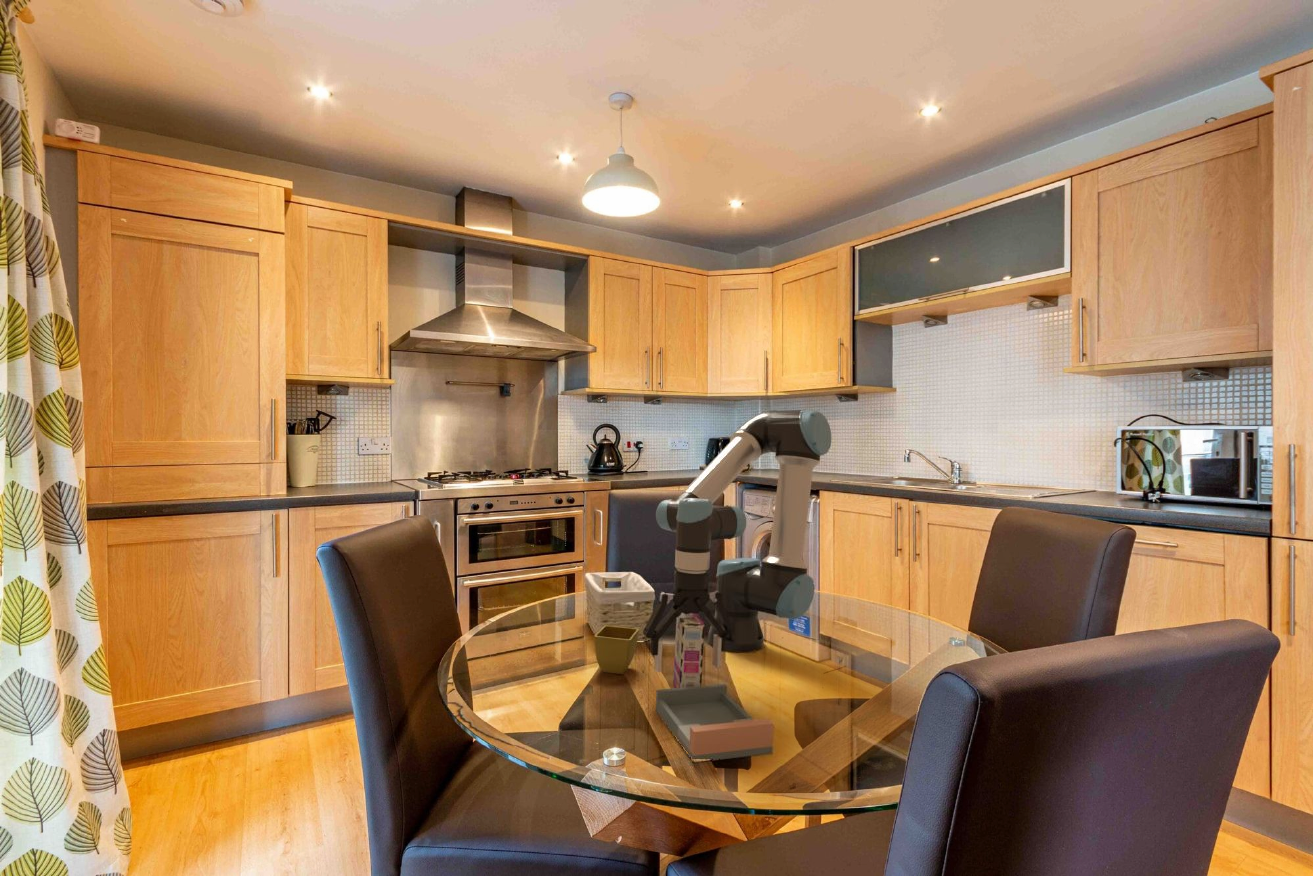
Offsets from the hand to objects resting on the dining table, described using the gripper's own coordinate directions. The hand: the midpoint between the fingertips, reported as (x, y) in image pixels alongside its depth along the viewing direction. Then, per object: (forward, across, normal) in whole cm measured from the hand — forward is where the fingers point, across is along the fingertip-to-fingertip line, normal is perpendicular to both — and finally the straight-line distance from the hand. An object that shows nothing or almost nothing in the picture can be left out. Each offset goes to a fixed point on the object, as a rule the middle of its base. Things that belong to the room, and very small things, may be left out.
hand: (687, 668), depth 136 cm
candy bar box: (+6, 0, 0) cm, 6 cm away
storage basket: (+6, +4, -45) cm, 46 cm away
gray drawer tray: (+5, +2, +18) cm, 19 cm away
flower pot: (+6, +12, -16) cm, 21 cm away
